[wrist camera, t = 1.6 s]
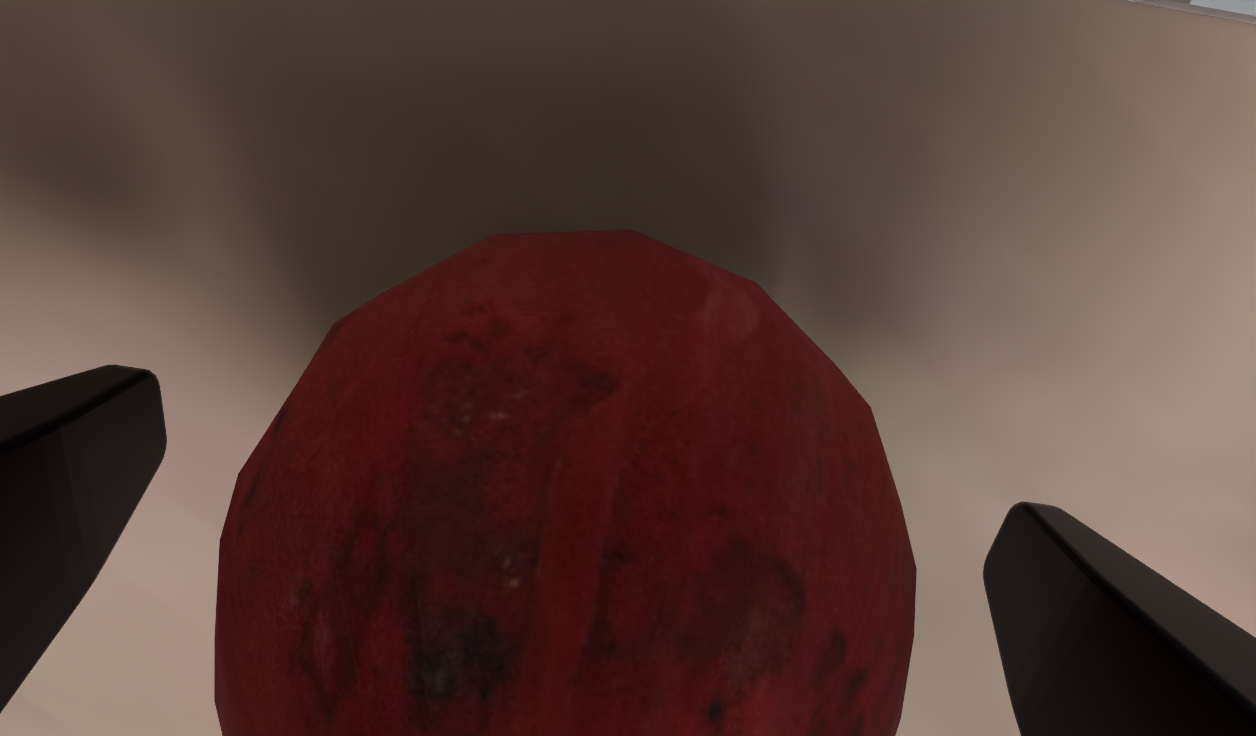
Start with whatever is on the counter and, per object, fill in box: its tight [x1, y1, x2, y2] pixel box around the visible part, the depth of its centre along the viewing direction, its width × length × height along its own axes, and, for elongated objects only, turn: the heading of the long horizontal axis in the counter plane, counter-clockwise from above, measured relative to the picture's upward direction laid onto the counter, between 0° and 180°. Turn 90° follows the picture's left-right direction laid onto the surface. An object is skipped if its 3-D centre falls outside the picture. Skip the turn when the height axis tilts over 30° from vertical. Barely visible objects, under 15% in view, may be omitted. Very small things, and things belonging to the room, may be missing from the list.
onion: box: [215, 230, 916, 736], centre depth 7 cm, size 6×6×8 cm
